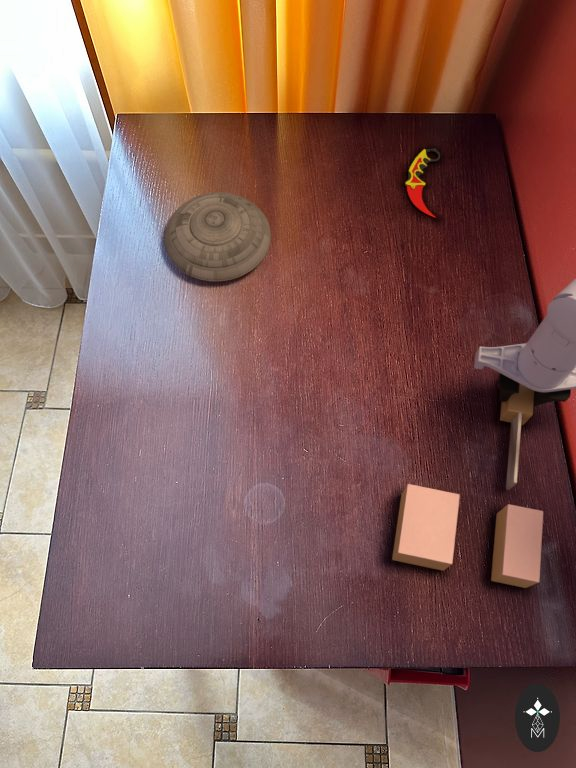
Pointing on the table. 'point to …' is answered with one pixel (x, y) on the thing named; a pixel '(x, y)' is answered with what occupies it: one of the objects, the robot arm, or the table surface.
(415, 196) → the knife
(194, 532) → the table surface
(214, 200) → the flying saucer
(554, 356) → the robot arm
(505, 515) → the light tan rectangular block
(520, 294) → the table surface
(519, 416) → the chisel
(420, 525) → the pink rectangular block
